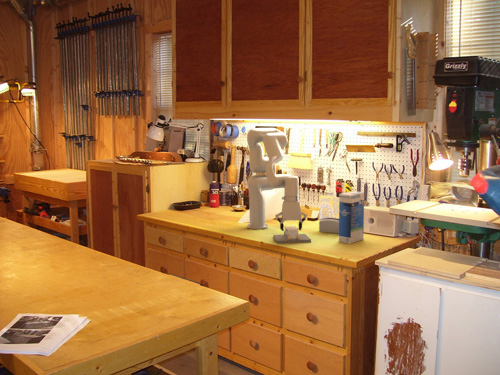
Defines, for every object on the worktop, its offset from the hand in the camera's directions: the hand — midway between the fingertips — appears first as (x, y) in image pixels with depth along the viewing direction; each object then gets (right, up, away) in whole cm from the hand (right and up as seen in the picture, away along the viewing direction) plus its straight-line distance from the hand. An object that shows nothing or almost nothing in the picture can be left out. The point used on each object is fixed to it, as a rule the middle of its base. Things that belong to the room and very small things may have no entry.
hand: (291, 230), depth 275 cm
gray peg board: (0, -5, 0) cm, 5 cm away
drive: (0, -4, 0) cm, 4 cm away
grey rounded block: (+26, -3, +18) cm, 31 cm away
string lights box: (+32, -6, -3) cm, 32 cm away
